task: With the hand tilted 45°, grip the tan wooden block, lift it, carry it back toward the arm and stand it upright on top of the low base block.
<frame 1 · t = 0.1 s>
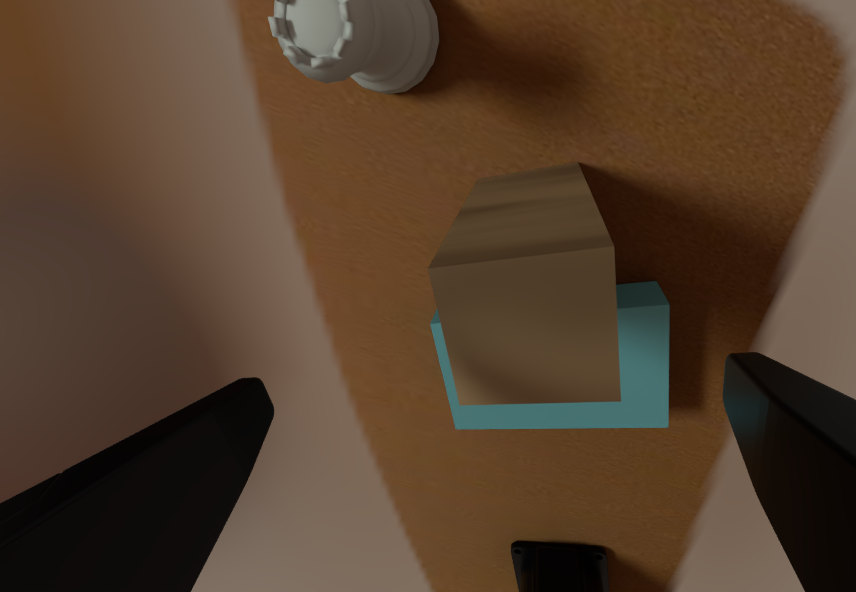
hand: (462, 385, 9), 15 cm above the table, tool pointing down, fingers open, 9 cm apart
rook chess piece: (393, 38, 20), on the table
tan wooden block: (531, 218, 22), on the table
base block: (547, 348, 24), on the table
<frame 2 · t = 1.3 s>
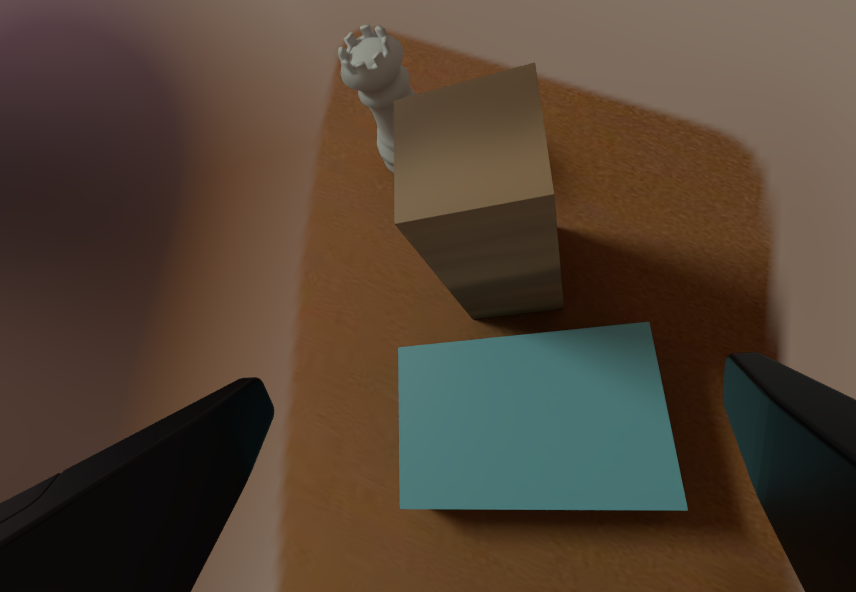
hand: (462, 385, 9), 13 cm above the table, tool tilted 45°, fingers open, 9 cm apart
rook chess piece: (419, 152, 28), on the table
tan wooden block: (512, 272, 23), on the table
base block: (528, 420, 21), on the table
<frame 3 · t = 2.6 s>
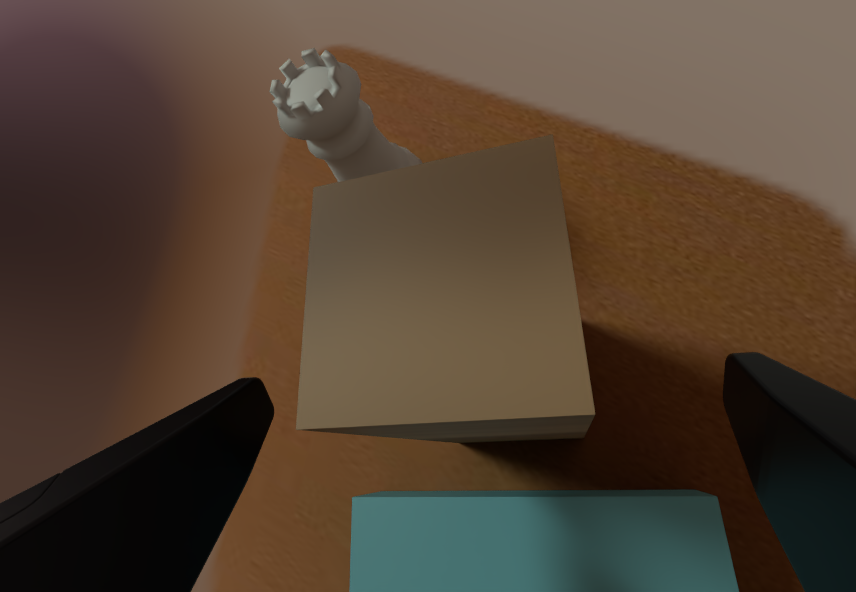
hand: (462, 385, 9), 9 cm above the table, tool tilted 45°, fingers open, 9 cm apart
rook chess piece: (395, 204, 22), on the table
tan wooden block: (512, 378, 17), on the table
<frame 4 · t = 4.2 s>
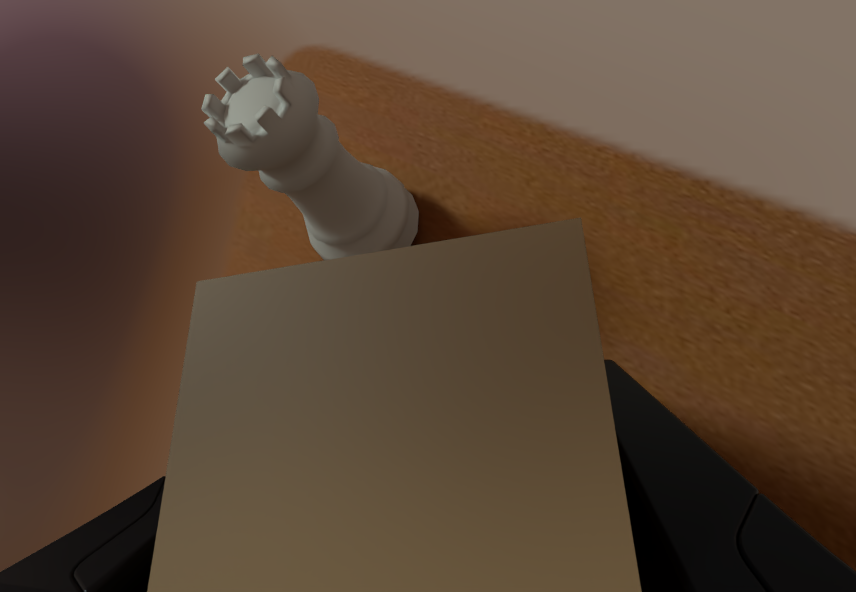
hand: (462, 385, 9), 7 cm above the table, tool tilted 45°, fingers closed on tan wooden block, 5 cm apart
rook chess piece: (374, 234, 19), on the table
tan wooden block: (512, 456, 14), on the table, touching gripper
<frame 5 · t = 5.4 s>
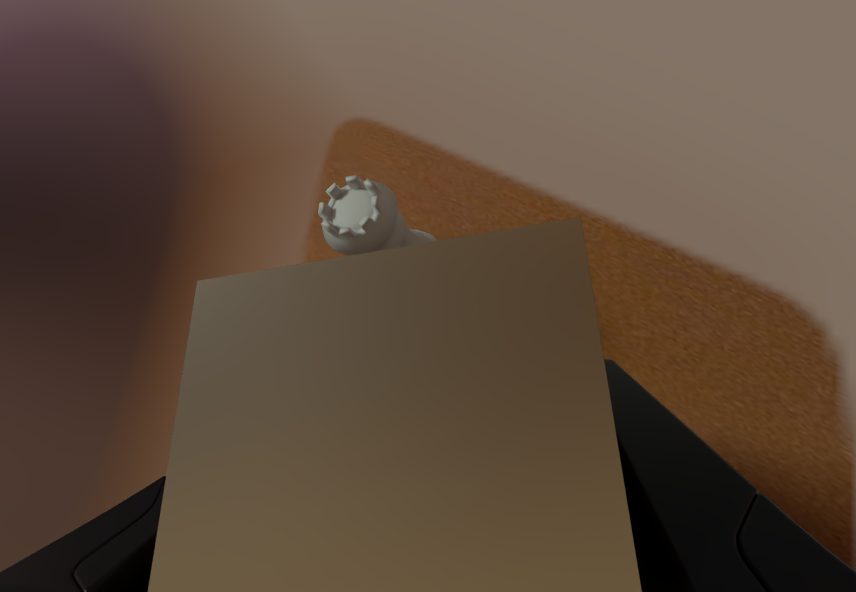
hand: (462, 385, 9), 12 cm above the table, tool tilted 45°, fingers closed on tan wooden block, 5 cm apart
rook chess piece: (418, 280, 24), on the table
tan wooden block: (512, 456, 14), point 6 cm above the table, touching gripper
when the fingers open (10 cm above the table, at t = 7.0 s): tan wooden block drops 1 cm, resting on base block.
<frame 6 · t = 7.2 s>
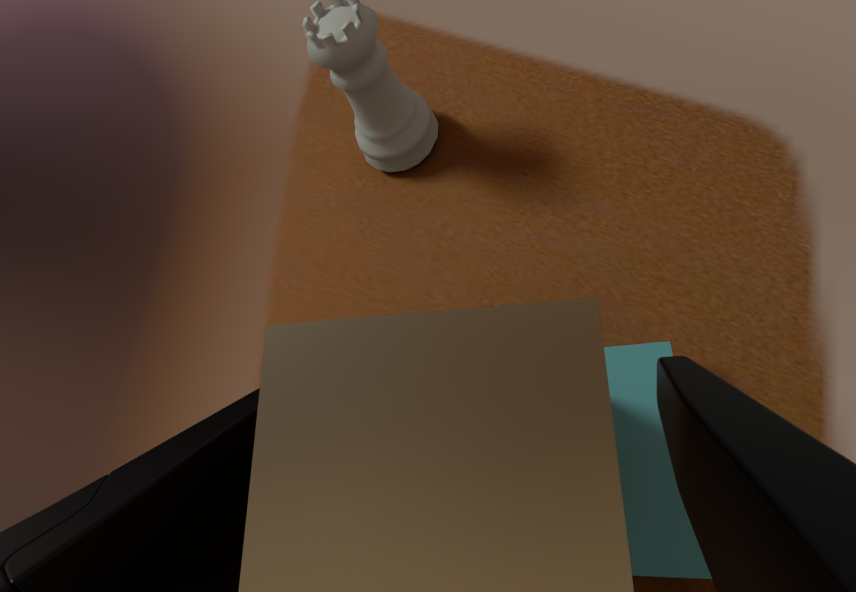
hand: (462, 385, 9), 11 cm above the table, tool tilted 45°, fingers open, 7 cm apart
rook chess piece: (403, 144, 25), on the table
tan wooden block: (516, 454, 15), point 3 cm above the table, touching base block
base block: (524, 454, 18), on the table
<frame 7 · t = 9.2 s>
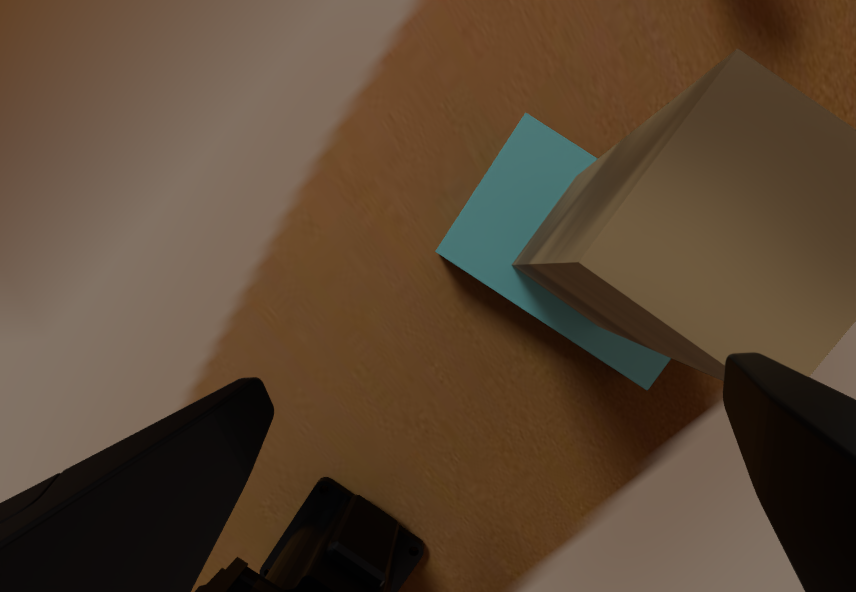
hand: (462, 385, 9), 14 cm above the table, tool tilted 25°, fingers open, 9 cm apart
tan wooden block: (587, 252, 19), point 2 cm above the table, touching base block
base block: (572, 254, 21), on the table
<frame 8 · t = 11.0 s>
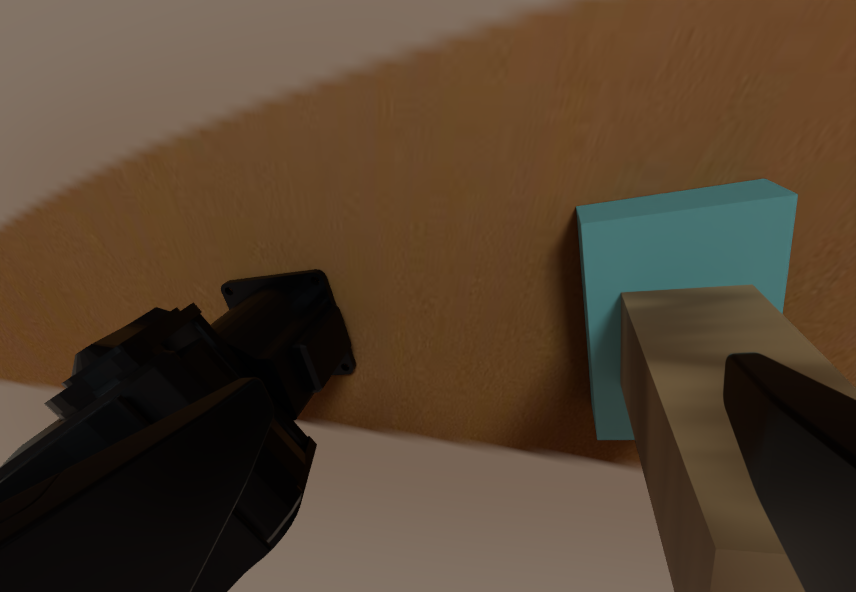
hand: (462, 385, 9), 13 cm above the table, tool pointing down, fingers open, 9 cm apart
tan wooden block: (680, 338, 18), point 2 cm above the table, touching base block
base block: (664, 310, 20), on the table
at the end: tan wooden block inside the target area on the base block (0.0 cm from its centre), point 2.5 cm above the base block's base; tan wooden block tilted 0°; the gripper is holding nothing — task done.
